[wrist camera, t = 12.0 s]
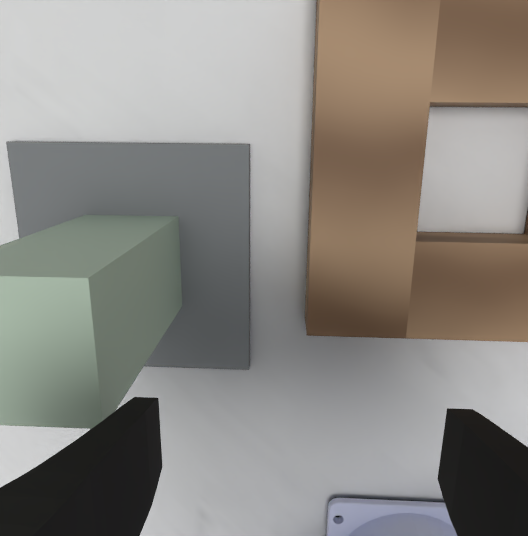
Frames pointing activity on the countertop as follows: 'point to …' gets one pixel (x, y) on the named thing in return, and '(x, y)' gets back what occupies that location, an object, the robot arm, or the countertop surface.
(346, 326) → the pocket holder
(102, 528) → the robot arm
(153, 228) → the sage block
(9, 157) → the slate mat
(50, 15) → the countertop surface
